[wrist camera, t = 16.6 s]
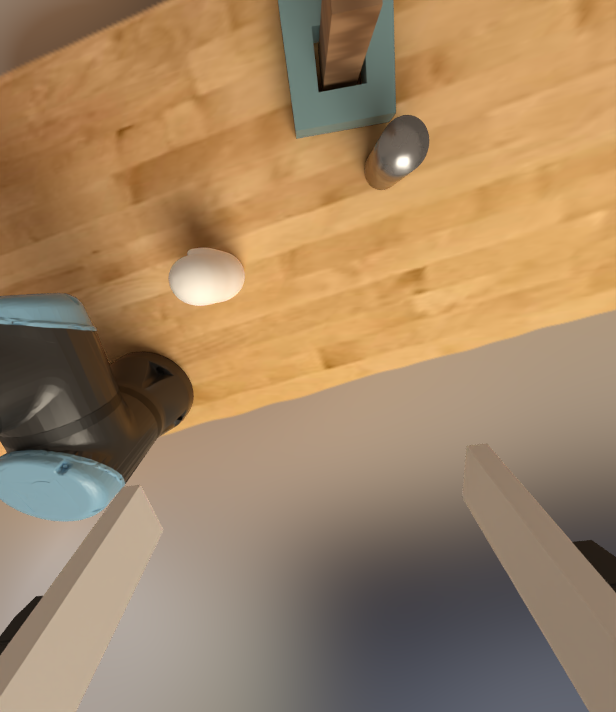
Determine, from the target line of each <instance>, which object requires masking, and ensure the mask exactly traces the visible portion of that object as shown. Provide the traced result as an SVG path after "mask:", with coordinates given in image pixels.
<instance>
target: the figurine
mask: <svg viewBox="0 0 616 712" xmlns="http://www.w3.org/2000/svg"><path fill="white" fill-rule="evenodd" d="M187 255H188V256H185V257H182V258H180V259H179V260H177V261H176V262H175V263H174V264H173V266H172V268H171V270H170V273H169V284H170V287H171V289H172V291H173V293H174V294H175V295H176V296H177V297H178V298H179V299H180V300H181V301H183V302H185V303H188V304H191V305H196V306H202V305H210V304H214V303H218V302H223V301H226V300H229V299H231V298H232V297H234V296H235V295H236V294H237V293H238V292H239V291H240V290H241V288H242V286H243V284H244V279H245V273H244V269H243V266H242V264H241V263H240V261H239V260H238V259H237V258H236V257H235V256H233V255H232V254H230V253H227V252H224V251H220V250H217V249H213V248H194V249H190V250H189V251H188V252H187Z"/></svg>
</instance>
